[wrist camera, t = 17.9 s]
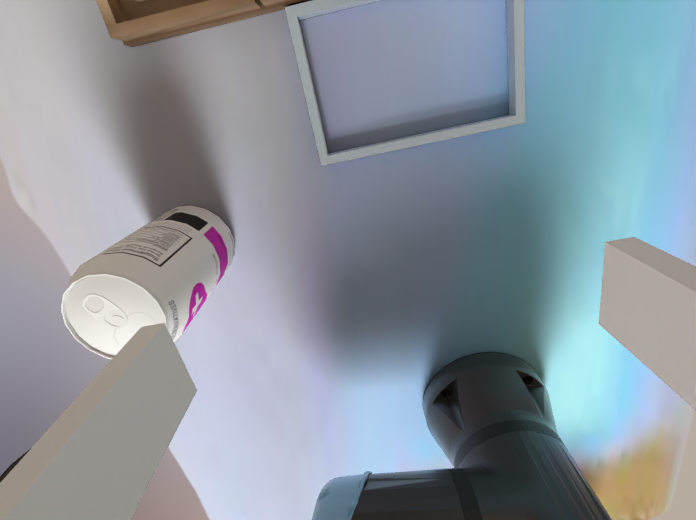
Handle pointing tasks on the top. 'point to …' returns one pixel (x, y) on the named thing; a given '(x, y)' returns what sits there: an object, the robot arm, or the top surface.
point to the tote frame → (326, 3)
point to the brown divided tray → (177, 16)
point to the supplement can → (148, 279)
